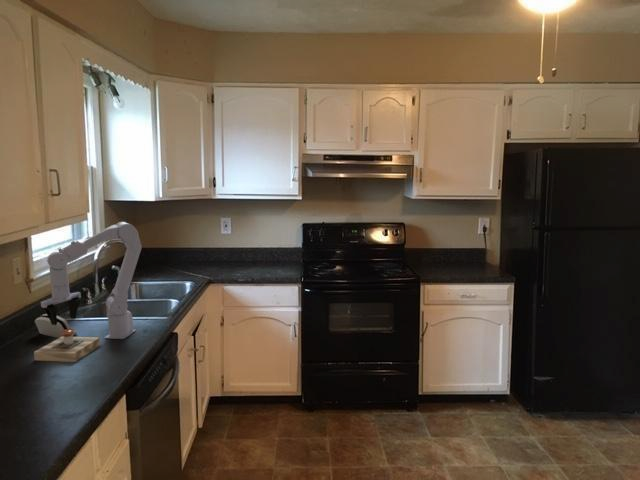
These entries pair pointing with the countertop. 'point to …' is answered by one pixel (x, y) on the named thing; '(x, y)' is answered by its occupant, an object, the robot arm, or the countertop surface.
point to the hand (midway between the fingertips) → (63, 321)
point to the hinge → (52, 326)
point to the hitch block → (67, 349)
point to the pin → (68, 337)
